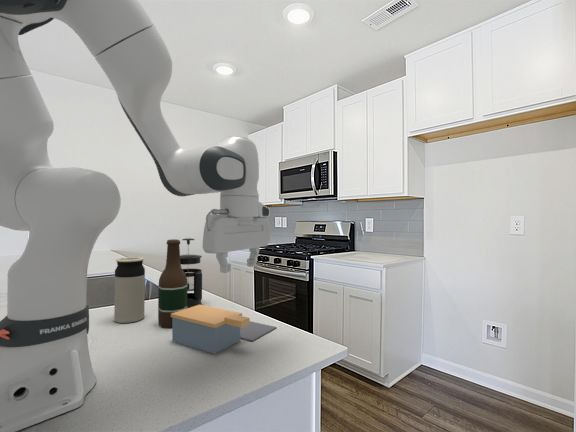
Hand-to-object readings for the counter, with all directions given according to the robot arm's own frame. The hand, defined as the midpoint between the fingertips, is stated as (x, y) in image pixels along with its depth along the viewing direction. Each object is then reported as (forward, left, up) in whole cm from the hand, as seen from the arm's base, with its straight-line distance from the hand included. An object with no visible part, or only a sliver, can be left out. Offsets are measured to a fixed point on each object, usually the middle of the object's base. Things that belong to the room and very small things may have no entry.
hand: (239, 269), depth 74 cm
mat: (+11, +7, -19) cm, 23 cm away
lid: (0, +8, -13) cm, 15 cm away
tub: (0, +10, -19) cm, 21 cm away
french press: (+19, +37, -19) cm, 46 cm away
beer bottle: (+4, +27, -19) cm, 33 cm away
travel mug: (0, +41, -19) cm, 45 cm away
